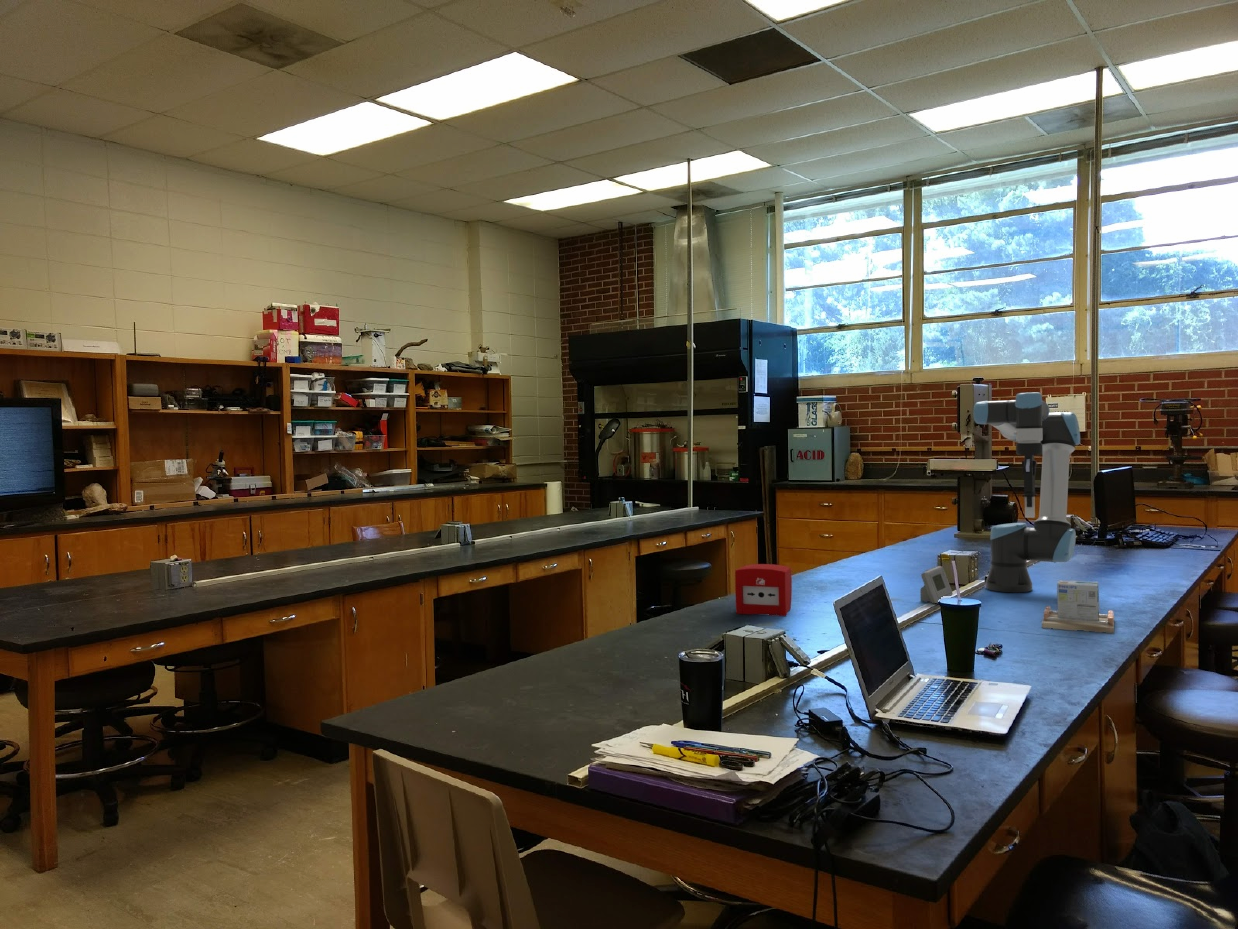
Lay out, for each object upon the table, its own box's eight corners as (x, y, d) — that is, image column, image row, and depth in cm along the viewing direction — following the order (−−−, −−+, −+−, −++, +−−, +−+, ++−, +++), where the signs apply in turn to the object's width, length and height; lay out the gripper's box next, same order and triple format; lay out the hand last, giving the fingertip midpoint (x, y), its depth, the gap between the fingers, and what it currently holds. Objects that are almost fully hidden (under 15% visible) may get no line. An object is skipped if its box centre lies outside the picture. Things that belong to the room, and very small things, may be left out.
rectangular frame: (1046, 612, 266) (1046, 606, 266) (1113, 617, 257) (1113, 610, 257) (1043, 620, 256) (1043, 613, 256) (1112, 625, 248) (1112, 618, 248)
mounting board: (1046, 615, 269) (1046, 610, 269) (1114, 620, 260) (1114, 615, 260) (1041, 627, 253) (1041, 622, 253) (1113, 633, 244) (1113, 628, 244)
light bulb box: (1099, 618, 257) (1099, 581, 256) (1098, 623, 251) (1098, 585, 250) (1058, 615, 262) (1058, 579, 262) (1056, 619, 256) (1056, 583, 256)
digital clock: (935, 605, 288) (935, 573, 288) (911, 602, 295) (910, 570, 295) (961, 598, 298) (960, 567, 298) (937, 595, 305) (936, 564, 305)
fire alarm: (735, 614, 284) (734, 568, 284) (743, 607, 294) (742, 563, 294) (785, 616, 278) (784, 569, 277) (792, 609, 288) (791, 564, 287)
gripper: (1018, 441, 282) (1018, 515, 283) (1013, 443, 271) (1014, 519, 272) (1044, 441, 278) (1044, 515, 279) (1040, 442, 267) (1041, 519, 268)
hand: (1029, 517), depth 275 cm, fingers closed
